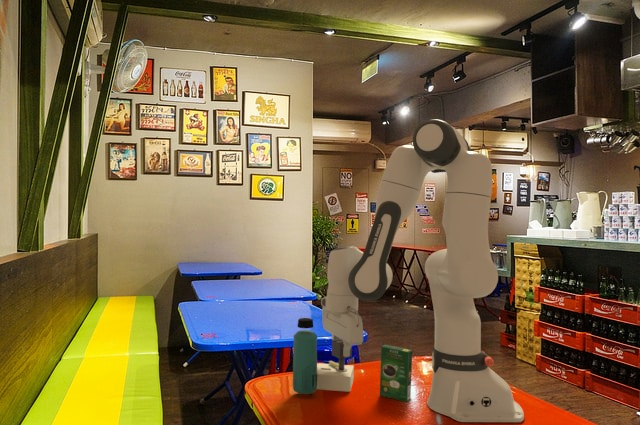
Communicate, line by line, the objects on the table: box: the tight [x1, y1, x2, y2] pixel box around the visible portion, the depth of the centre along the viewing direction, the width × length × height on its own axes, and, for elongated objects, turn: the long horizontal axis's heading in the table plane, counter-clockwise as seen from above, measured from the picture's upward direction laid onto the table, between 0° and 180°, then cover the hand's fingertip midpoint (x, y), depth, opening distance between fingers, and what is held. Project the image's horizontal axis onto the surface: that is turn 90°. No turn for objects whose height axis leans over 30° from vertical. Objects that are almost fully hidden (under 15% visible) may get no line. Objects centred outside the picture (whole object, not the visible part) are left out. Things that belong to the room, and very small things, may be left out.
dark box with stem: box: [328, 339, 353, 370], centre depth 135 cm, size 8×4×8 cm, turn 32°
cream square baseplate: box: [316, 362, 355, 393], centre depth 134 cm, size 12×11×4 cm
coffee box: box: [379, 344, 413, 403], centre depth 124 cm, size 8×3×13 cm, turn 57°
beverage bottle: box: [292, 317, 318, 395], centre depth 124 cm, size 6×7×20 cm
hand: (341, 353), depth 133 cm, fingers closed on dark box with stem, 4 cm apart
